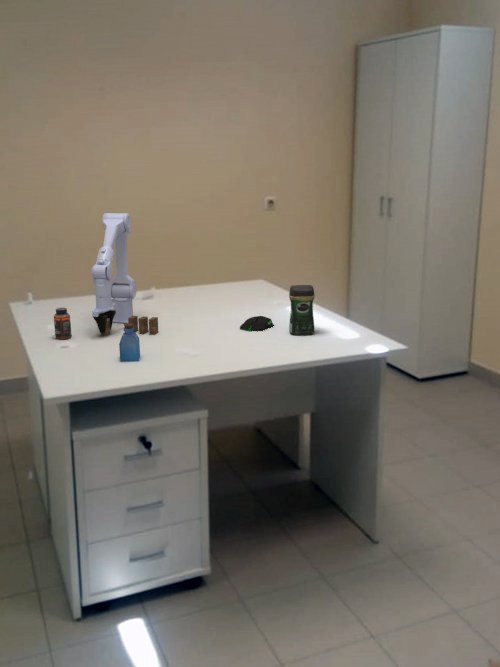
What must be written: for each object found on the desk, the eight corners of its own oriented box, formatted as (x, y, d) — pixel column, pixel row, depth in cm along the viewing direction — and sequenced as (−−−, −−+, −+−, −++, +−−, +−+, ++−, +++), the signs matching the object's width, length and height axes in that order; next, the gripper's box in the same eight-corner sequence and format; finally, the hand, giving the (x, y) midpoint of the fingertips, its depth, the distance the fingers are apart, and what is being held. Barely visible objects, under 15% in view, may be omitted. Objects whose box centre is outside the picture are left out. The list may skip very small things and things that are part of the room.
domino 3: (149, 334, 272) (148, 319, 270) (153, 332, 276) (153, 317, 274) (154, 335, 271) (153, 319, 270) (158, 332, 275) (157, 317, 273)
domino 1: (128, 333, 274) (128, 318, 273) (133, 330, 278) (132, 315, 276) (133, 333, 274) (132, 318, 272) (138, 330, 277) (137, 315, 276)
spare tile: (100, 335, 271) (99, 320, 269) (105, 333, 274) (104, 317, 273) (105, 336, 270) (104, 320, 269) (110, 333, 274) (109, 318, 272)
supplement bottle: (74, 336, 270) (72, 307, 267) (66, 340, 265) (63, 310, 262) (61, 335, 272) (59, 306, 269) (52, 339, 267) (49, 309, 264)
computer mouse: (280, 324, 288) (280, 314, 287) (264, 334, 273) (264, 323, 272) (254, 321, 292) (254, 311, 291) (237, 331, 278) (237, 321, 277)
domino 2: (139, 334, 273) (138, 318, 272) (143, 331, 277) (143, 316, 275) (143, 334, 273) (143, 319, 271) (148, 331, 276) (147, 316, 275)
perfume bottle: (121, 356, 245) (119, 322, 242) (140, 355, 245) (138, 321, 242) (120, 361, 239) (118, 327, 236) (138, 361, 240) (137, 326, 236)
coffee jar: (312, 330, 277) (313, 282, 272) (315, 335, 269) (316, 287, 264) (287, 330, 276) (288, 283, 271) (289, 336, 269) (290, 287, 264)
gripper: (103, 300, 261) (105, 336, 264) (121, 292, 274) (123, 327, 277) (86, 299, 263) (88, 335, 266) (105, 291, 276) (107, 325, 280)
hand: (105, 331), depth 272 cm, fingers closed on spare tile, 4 cm apart
